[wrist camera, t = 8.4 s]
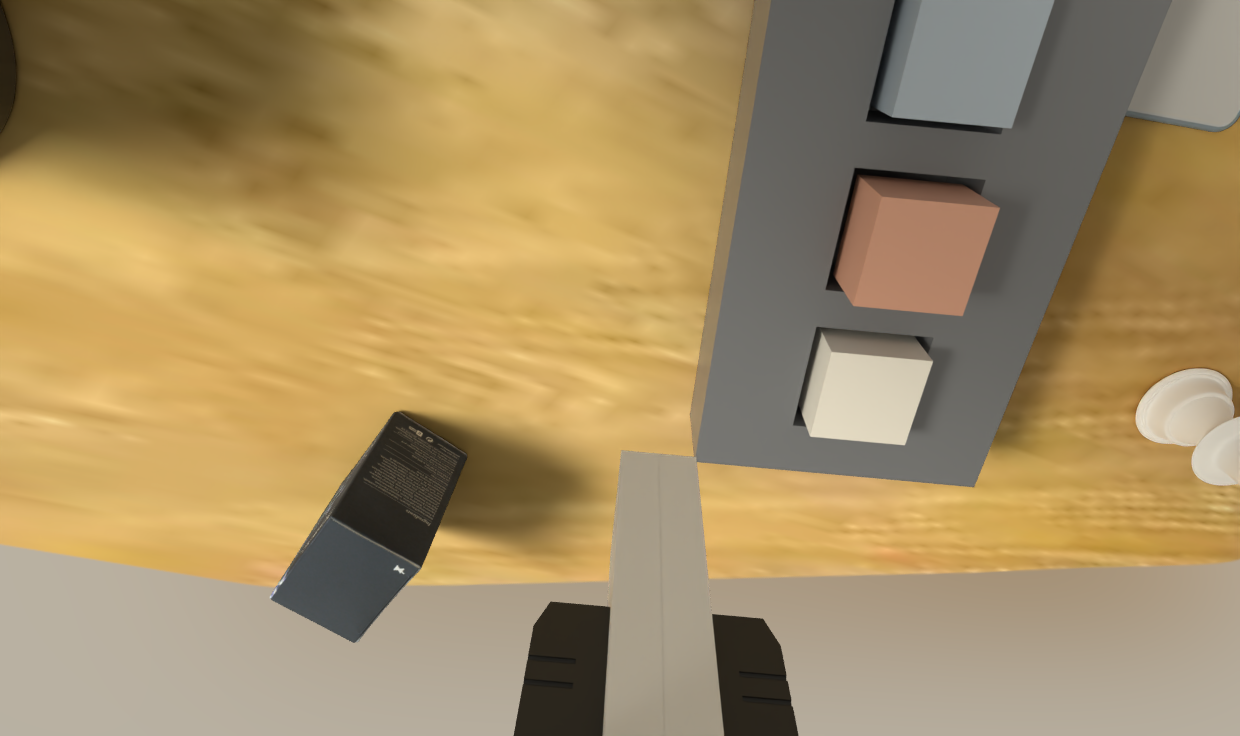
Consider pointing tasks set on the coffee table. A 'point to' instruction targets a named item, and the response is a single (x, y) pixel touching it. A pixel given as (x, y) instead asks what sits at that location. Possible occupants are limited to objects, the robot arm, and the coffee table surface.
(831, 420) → the ivory key
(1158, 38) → the smartphone
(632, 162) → the coffee table surface
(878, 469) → the key panel
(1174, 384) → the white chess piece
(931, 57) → the slate key
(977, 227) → the terracotta key
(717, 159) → the coffee table surface
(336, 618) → the box
